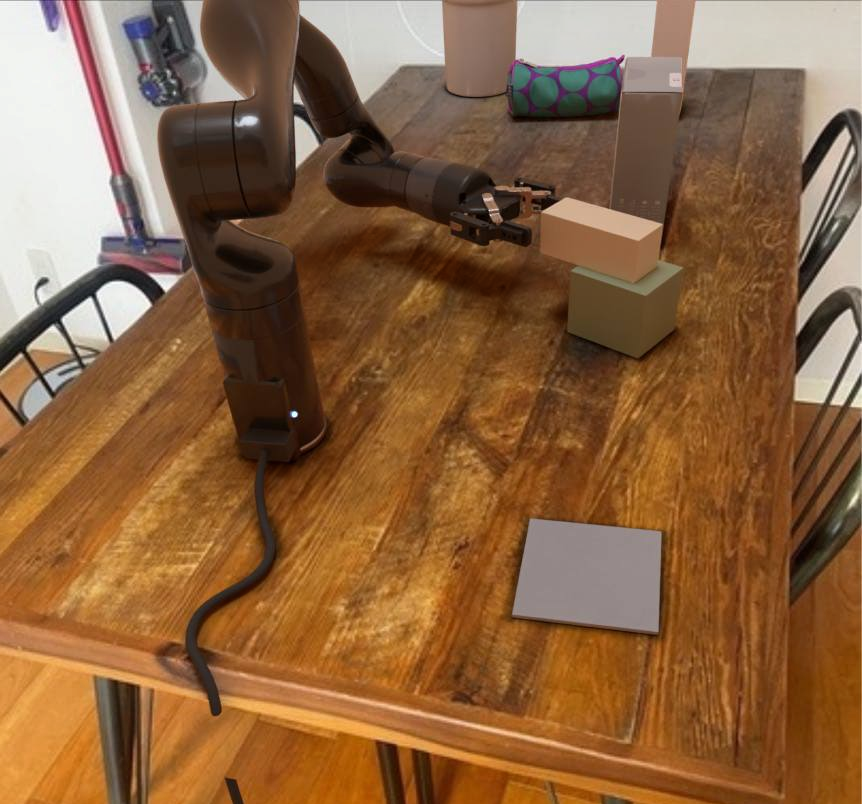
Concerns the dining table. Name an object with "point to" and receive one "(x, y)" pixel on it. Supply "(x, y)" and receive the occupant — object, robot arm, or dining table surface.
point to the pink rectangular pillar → (673, 31)
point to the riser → (624, 308)
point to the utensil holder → (479, 45)
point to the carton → (600, 239)
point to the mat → (590, 576)
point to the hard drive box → (646, 136)
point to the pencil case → (564, 89)
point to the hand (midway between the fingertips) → (552, 224)
